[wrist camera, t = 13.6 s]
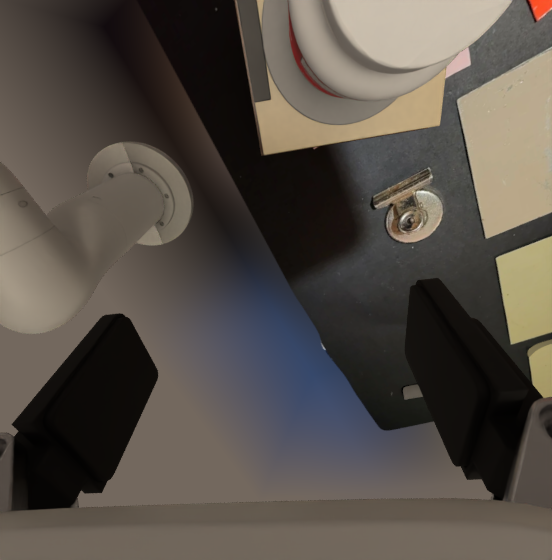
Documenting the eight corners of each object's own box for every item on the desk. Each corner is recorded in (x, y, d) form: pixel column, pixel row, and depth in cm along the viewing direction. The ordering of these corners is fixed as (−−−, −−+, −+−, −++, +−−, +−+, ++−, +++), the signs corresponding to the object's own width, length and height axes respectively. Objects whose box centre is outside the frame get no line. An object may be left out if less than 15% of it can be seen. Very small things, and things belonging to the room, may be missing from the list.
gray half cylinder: (484, 382, 74) (488, 388, 72) (403, 396, 78) (405, 402, 76) (484, 371, 72) (488, 377, 70) (400, 386, 76) (403, 392, 74)
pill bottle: (339, -96, 13) (459, -545, 4) (435, 3, 15) (683, -147, 6) (266, 51, 16) (234, -6, 7) (353, 121, 18) (424, 152, 8)
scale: (266, 147, 22) (263, 156, 19) (231, -67, 16) (218, -103, 13) (421, 121, 21) (444, 126, 18) (442, -122, 15) (481, -176, 12)
